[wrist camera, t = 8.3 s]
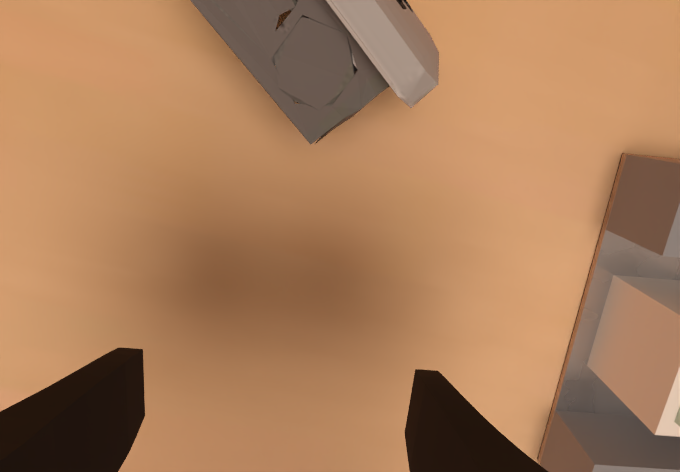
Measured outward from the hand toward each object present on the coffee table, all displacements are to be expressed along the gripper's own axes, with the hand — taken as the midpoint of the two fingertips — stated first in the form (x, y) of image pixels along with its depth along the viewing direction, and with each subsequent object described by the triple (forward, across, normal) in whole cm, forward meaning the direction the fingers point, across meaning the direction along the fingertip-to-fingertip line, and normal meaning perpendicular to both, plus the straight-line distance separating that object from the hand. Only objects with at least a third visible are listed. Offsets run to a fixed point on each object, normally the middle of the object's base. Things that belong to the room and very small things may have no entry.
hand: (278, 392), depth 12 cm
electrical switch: (+10, 0, -11) cm, 15 cm away
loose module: (+10, -17, +2) cm, 20 cm away
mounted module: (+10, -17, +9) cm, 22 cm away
